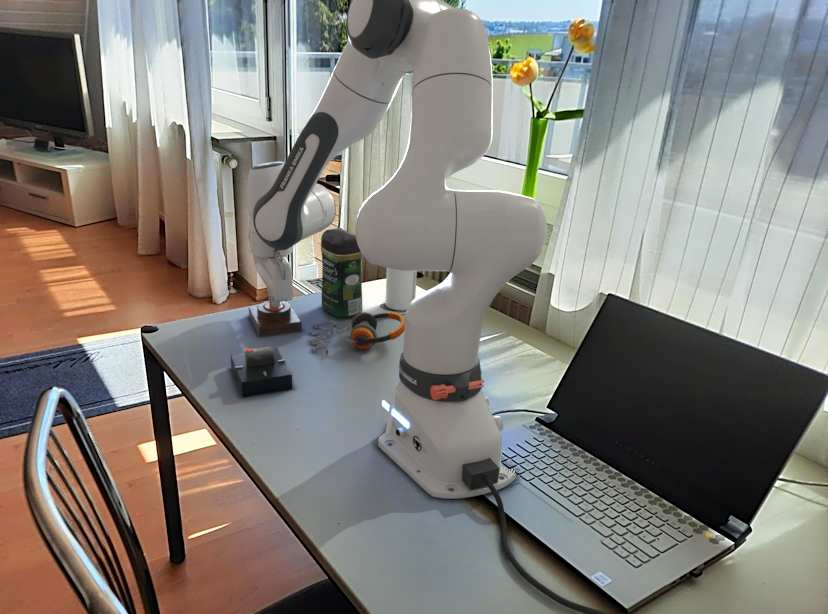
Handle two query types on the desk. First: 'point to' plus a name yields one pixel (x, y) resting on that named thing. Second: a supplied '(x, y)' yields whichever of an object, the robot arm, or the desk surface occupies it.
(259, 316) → the button block
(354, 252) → the coffee jar
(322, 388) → the desk surface
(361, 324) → the headphones
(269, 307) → the button
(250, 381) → the dial panel
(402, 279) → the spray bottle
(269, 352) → the dial
